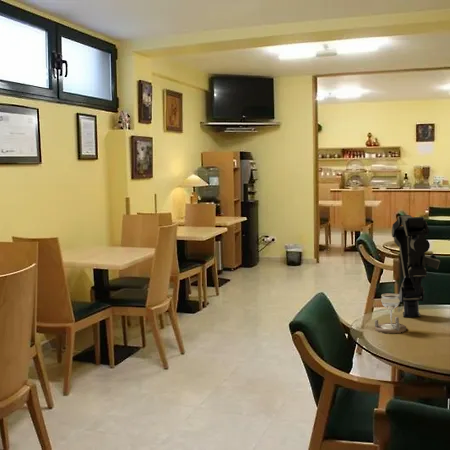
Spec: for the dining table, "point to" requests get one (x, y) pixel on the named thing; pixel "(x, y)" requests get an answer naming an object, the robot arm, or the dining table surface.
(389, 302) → the wineglass
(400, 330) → the glass stand
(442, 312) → the dining table surface
